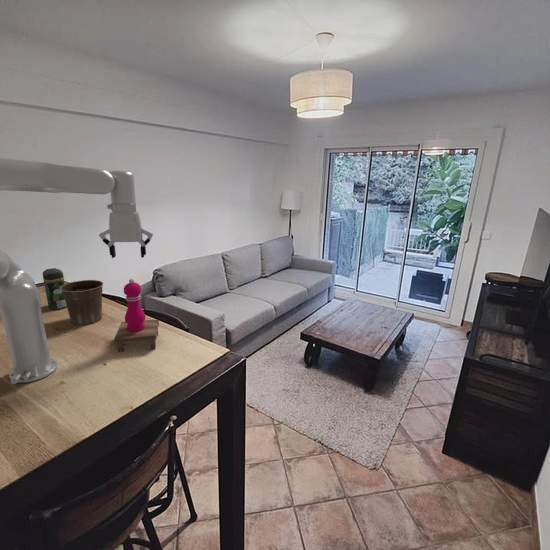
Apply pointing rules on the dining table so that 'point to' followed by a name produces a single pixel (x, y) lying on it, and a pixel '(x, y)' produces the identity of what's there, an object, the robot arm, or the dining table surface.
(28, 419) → the dining table surface
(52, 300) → the coffee jar
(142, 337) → the wooden stool
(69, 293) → the plant pot
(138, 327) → the pepper mill
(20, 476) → the dining table surface
